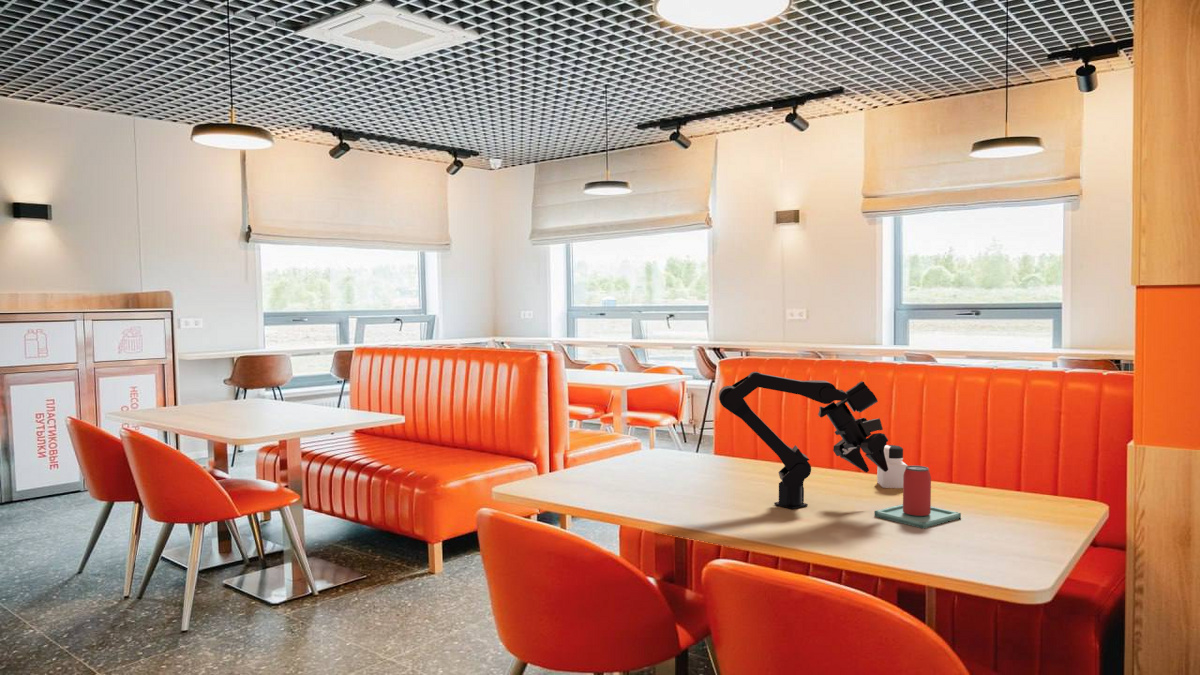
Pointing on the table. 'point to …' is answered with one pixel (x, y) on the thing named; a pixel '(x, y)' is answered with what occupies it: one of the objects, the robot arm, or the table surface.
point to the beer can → (917, 491)
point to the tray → (932, 519)
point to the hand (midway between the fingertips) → (877, 471)
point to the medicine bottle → (892, 468)
